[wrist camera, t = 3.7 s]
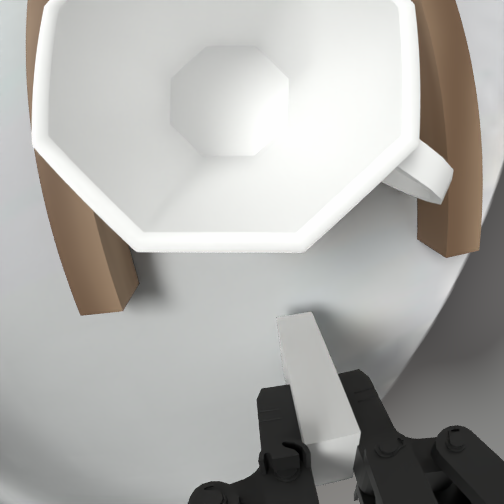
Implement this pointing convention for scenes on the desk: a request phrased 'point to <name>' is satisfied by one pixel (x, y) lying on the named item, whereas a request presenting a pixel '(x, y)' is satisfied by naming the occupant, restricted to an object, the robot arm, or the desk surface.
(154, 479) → the desk surface
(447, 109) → the channel
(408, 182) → the cup
